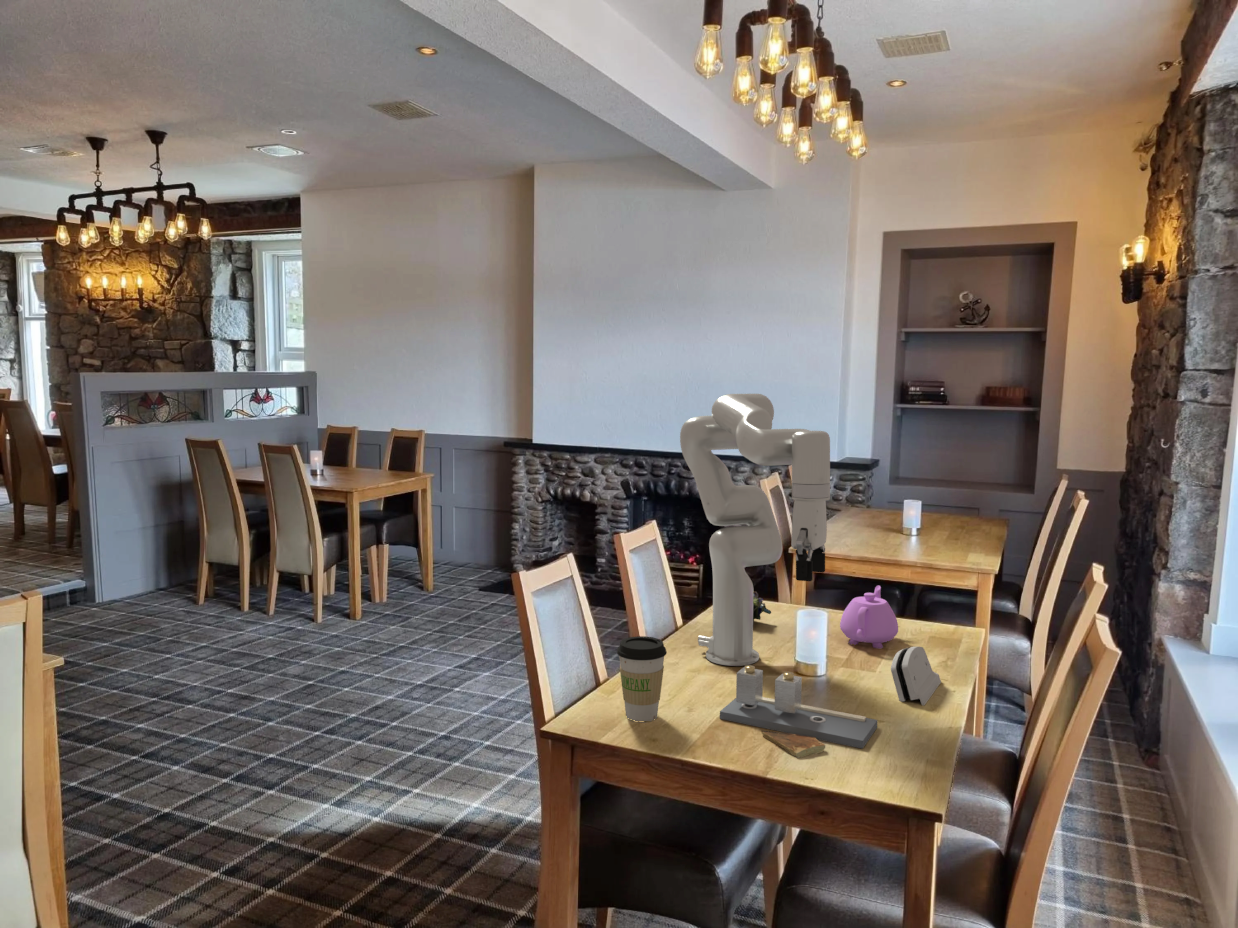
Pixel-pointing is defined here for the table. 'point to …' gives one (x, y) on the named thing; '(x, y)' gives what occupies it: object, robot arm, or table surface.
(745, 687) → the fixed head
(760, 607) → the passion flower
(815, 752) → the shard
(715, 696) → the table surface
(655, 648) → the coffee cup
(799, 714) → the hole plate
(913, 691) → the grey layered slab
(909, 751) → the table surface
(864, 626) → the teapot
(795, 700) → the block
